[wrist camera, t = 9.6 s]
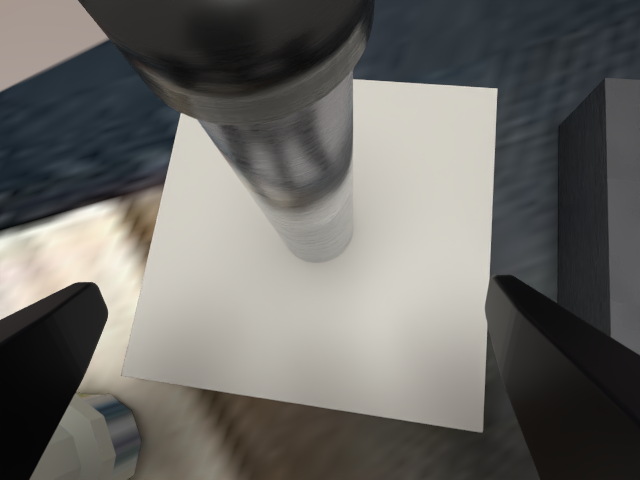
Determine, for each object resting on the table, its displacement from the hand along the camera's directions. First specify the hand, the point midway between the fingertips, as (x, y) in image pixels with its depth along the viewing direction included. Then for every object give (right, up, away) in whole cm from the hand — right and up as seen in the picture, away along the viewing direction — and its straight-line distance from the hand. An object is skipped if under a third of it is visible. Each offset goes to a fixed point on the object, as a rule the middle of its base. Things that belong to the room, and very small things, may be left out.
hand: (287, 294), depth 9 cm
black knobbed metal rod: (+1, +2, +8) cm, 8 cm away
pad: (+1, +2, +9) cm, 9 cm away
